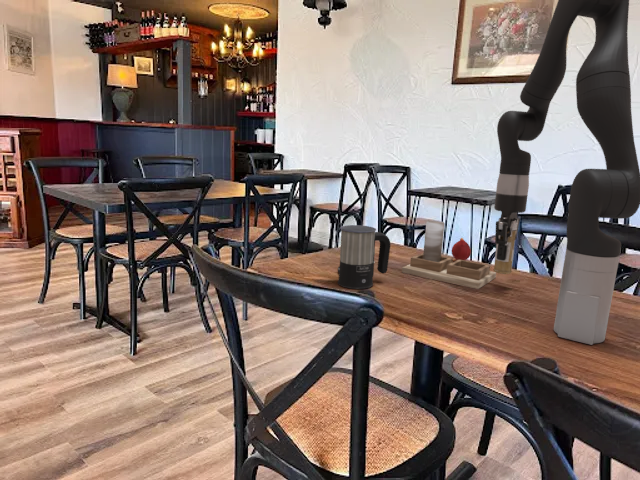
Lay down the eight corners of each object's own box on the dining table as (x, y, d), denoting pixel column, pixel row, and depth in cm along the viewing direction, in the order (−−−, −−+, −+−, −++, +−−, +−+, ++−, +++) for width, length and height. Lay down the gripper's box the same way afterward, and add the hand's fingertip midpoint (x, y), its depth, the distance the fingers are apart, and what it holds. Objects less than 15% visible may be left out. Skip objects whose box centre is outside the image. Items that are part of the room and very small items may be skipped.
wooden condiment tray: (478, 289, 126) (484, 234, 124) (401, 272, 139) (406, 222, 136) (495, 277, 138) (501, 227, 135) (423, 263, 151) (428, 217, 148)
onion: (471, 262, 155) (474, 238, 153) (466, 266, 150) (469, 240, 148) (453, 259, 158) (456, 235, 156) (448, 262, 153) (450, 237, 151)
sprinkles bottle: (515, 273, 127) (521, 222, 124) (504, 275, 124) (510, 223, 122) (500, 269, 130) (505, 219, 128) (489, 271, 128) (495, 220, 125)
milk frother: (354, 292, 119) (358, 232, 116) (313, 276, 131) (315, 222, 128) (392, 283, 128) (397, 227, 125) (350, 269, 140) (354, 218, 137)
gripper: (520, 195, 115) (511, 265, 119) (533, 192, 127) (525, 256, 130) (488, 192, 120) (480, 260, 123) (504, 190, 131) (497, 252, 134)
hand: (503, 257), depth 127 cm, fingers closed on sprinkles bottle, 4 cm apart
